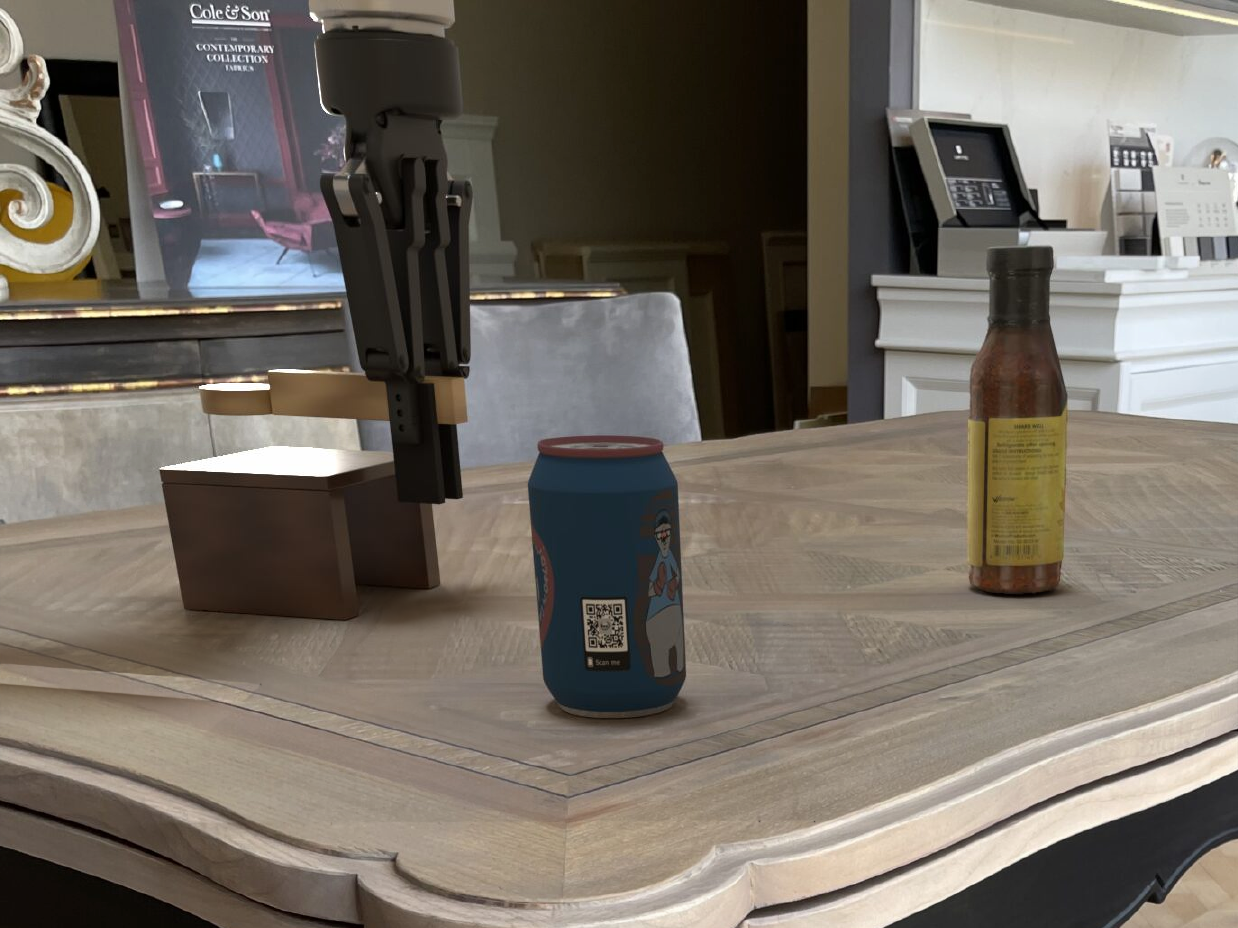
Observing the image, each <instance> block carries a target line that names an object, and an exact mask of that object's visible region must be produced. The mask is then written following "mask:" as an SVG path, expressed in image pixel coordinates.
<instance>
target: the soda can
mask: <svg viewBox="0 0 1238 928" xmlns="http://www.w3.org/2000/svg"><path fill="white" fill-rule="evenodd" d="M537 451H538V455H537V457H536V460H535V462H534V465H533V468H532V470H531V473H530V475H529V478H528V481H527V493H528V495H527V496H528V506H529V517H530V519H529V520H530V531H531V541H532V542H531V545H532V555H533V556H532V557H533V569H534V580H535V581H534V583H535V594H536V605H537V618H538V620H537V621H538V630H539V644H540V655H541V656H540V657H541V667H542V679H543V682H544V684H545V686H546V688H547V689H548V691H549V693H550V694H551V696H552V697H553V699H554V700H555V701H556V703H557V705H558V706H559V707H560V709H561V710H563V712H565V713H568V714H571V715H575V716H579V717H584V718H593V719H630V718H638V717H646V716H649V715H650V716H651V715H655V714H658V713H662V712H665V711H667V710H669V709H670V708H672V706H673V705H674V703H675V702H676V699H677V698H678V695H679V694H680V691H682V688H683V686H684V684H685V681H686V678H687V662H686V642H685V641H686V640H685V638H686V637H685V615H684V596H683V594H684V592H683V591H684V590H683V571H682V570H683V569H682V549H681V527H680V524H681V523H680V506H679V501H680V500H679V481H678V480H677V477H676V475H675V474H674V471H673V470H672V468H671V466H670V463H669V462H668V460H667V458H666V456H665V454H664V452H663V451H664V442H663V441H662V440H661V439H659V438H654V437H653V438H652V437H646V436H635V435H609V434H607V435H605V434H604V435H603V434H601V435H599V434H597V435H572V436H571V435H570V436H559V437H558V436H557V437H549V438H544V439H541V440H539V441H538V442H537Z"/></svg>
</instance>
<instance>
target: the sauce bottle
mask: <svg viewBox="0 0 1238 928" xmlns="http://www.w3.org/2000/svg"><path fill="white" fill-rule="evenodd" d="M985 258H986V260H985V262H986V263H985V266H986V267H985V270H986V272H987V275H988V277H989V278H988V279H989V286H988V287H989V290H988V293H989V294H988V299H989V301H988V316H987V318H986V320H987V323H988V324H987V330H986V335H985V336H984V340H983V342H982V345H981V347H980V349H979V351H978V352H977V354H976V356H975V358H974V360H973V361H972V364H971V367H970V374H969V385H968V386H969V417H968V419H967V563H968V564H969V565H970V568H969V571H968V581H969V584H970V587H971V588H974V589H976V588H977V590H980V591H983V592H985V593H989V592H990V594H992V593H993V594H1000V593H1004V594H1003V595H1024V594H1023V593H1032V594H1037V592H1038V593H1043V592H1049V591H1053V590H1055V589H1056V588H1058V587H1059V585H1060V582H1061V574H1062V564H1063V560H1064V554H1065V553H1064V550H1065V548H1064V547H1065V544H1064V543H1065V538H1064V537H1065V520H1066V519H1065V516H1066V486H1067V449H1068V444H1067V441H1068V440H1067V439H1068V438H1067V437H1068V436H1067V435H1068V399H1069V398H1068V392H1067V391H1068V390H1067V387H1066V383H1065V380H1064V375H1063V370H1062V366H1061V362H1060V359H1059V353H1058V350H1057V345H1056V342H1055V336H1054V333H1053V329H1052V325H1051V315H1050V296H1051V293H1050V292H1051V283H1050V282H1051V276H1052V273H1053V270H1054V267H1055V260H1054V247H1053V246H1052V245H1050V244H1045V245H1044V244H1042V245H1041V244H1040V245H1038V244H1037V245H1036V244H1035V245H998V246H989V247H988V248H986V257H985ZM1052 589H1053V590H1052ZM1048 590H1049V591H1048Z"/></svg>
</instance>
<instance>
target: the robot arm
mask: <svg viewBox="0 0 1238 928" xmlns="http://www.w3.org/2000/svg"><path fill="white" fill-rule="evenodd" d="M454 5H455V3H454V0H308V10H309V15H310V17H311V18H312V19H313V21H314V22H318V23H319V24H322V32H321V33H318V34H317V35H316V40H314V41H313V46H314V55H315V64H316V73H317V82H318V91H319V99H320V104H321V107H322V110H324V111H325V112H326V113H327V114H329V115H330V116H333V117H338V118H339V117H340V118H344V119H345V132H344V133H345V135H344V141H343V142H344V143H343V156H344V157H343V158H344V161H345V165H344V166H343V167H342V168H341V169H340V171H339V172H337V173H335V172H323V173H322V174H321V176H320V178H319V187H320V192H321V195H322V197H323V200H324V203H325V205H326V208H327V211H328V213H329V216H330V219H331V221H332V225H333V230H334V235H335V241H336V246H337V250H338V251H337V252H338V256H339V261H340V266H341V267H340V268H341V271H342V277H343V283H344V288H345V293H346V298H347V299H346V300H347V304H348V308H349V314H350V315H349V316H350V319H351V320H350V321H351V325H352V331H353V335H354V340H355V346H356V351H357V352H356V353H357V357H358V362H359V365H360V368H361V369H362V371H364V373H365V374H366V377H367V379H368V380H369V381H376V382H385V385H386V391H387V401H388V410H389V419H390V421H389V428H390V436H391V437H390V438H391V446H392V447H391V449H392V452H393V457H394V467H395V476H396V485H397V495H398V502H409V503H424V504H432V505H442V504H446V500H460V499H464V493H463V492H464V491H463V482H462V481H463V480H462V470H461V461H460V460H461V459H460V448H459V438H458V426H457V425H458V424H438V421H437V411H436V400H435V389H434V383H423V381H424V378H425V376H440V377H462V378H464V380H467V379H468V378H469V377H470V372H471V367H470V365H469V363H470V362H471V357H472V346H471V345H472V343H471V342H472V341H471V293H470V292H471V288H470V287H471V286H470V284H471V283H470V276H471V275H470V228H469V227H470V220H471V212H472V205H473V199H474V191H473V190H474V189H473V186H472V184H471V182H470V181H469V179H454V177H452V175H451V174H450V172H449V171H448V169H449V158H448V154H447V153H448V152H447V151H446V147H445V144H444V140H443V134H442V131H441V125H442V122H443V121H454V120H457V119H459V118H460V117H461V116H462V114H463V109H464V105H463V103H464V102H463V94H462V93H463V92H462V80H461V66H460V55H459V54H460V53H459V47H458V46H456V45H455V41H454V40H452V39H450V38H447V37H446V35H445V29H450V28H451V27H452V26H453V25H454V23H456V16H455V6H454Z"/></svg>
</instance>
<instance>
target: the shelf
mask: <svg viewBox="0 0 1238 928" xmlns="http://www.w3.org/2000/svg"><path fill="white" fill-rule="evenodd" d="M159 477H160V482H161V489H162V495H163V500H164V506H165V510H166V511H165V512H166V517H167V522H168V528H169V531H170V532H169V534H170V539H171V545H172V550H173V551H172V552H173V555H174V561H175V567H176V571H177V579H178V584H179V589H180V595H181V600H182V605H183V609H184V610H187V611H188V610H190V611H203V610H207V611H206V612H218V611H220V612H219V613H232V612H233V613H234V614H248V615H249V614H250V615H263V616H278V617H292V618H293V617H295V618H305V619H306V618H307V619H309V618H310V619H321V620H337V621H348V620H349V619H354V618H355V617H357V616H360V612H359V611H360V610H359V605H358V596H357V588H356V585H360V586H361V585H362V586H378V587H394V588H410V589H425V590H427V589H428V590H429V589H433V588H435V587H437V586H441V584H442V583H441V575H440V565H439V557H438V546H437V538H436V528H435V520H434V510H433V504H424V503H409V502H398V495H397V485H396V476H395V467H394V457H393V451H385V450H384V451H383V450H361V449H337V448H315V447H314V448H313V447H291V446H290V447H289V446H268V447H264V448H259V449H253V450H248V451H242V452H238V453H233V454H227V455H223V456H217V457H212V458H206V459H202V460H197V461H191V462H185V463H182V464H181V463H180V464H176V465H170V466H165V467H161V468H159Z"/></svg>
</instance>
